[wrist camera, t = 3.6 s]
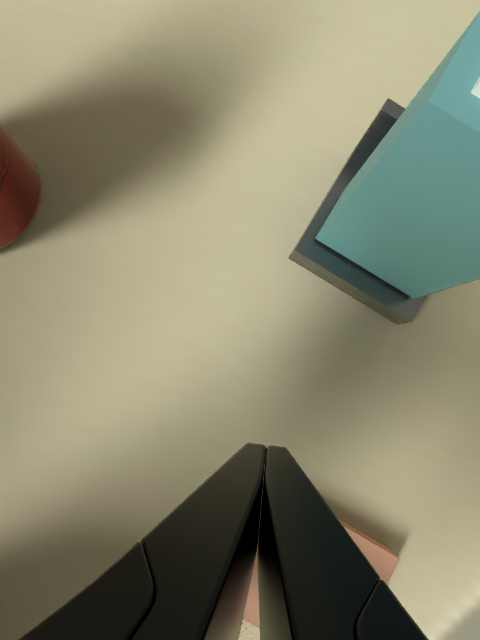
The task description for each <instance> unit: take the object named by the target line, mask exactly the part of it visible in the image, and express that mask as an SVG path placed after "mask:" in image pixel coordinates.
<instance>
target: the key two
mask: <svg viewBox="0 0 480 640" xmlns="http://www.w3.org/2000/svg"><path fill="white" fill-rule="evenodd" d="M315 239H317V240H318V241H320V242H322V243H323V244H325V245H327V246H328V247H330V248H332V249H333V250H335V251H337V252H338V253H340V254H341V255H343V256H345V257H346V258H348V259H350V260H351V261H353V262H355V263H356V264H358V265H360V266H361V267H363V268H365V269H366V270H368V271H369V272H371V273H373V274H374V275H376V276H378V277H379V278H381V279H383V280H384V281H386V282H388V283H389V284H391V285H392V286H394V287H396V288H397V289H399V290H401V291H402V292H404V293H406V294H407V295H409V296H411V297H412V298H414V299H415V298H418V297H421V296H424V295H428V294H431V293H434V292H437V291H441V290H444V289H447V288H451V287H454V286H457V285H460V284H464V283H467V282H470V281H473V280H477V279H480V12H479V13H478V14H477V16H476V17H475V18H474V20H473V21H472V22H471V23H470V25H469V26H468V27H467V29H466V30H465V31H464V33H463V34H462V35H461V37H460V38H459V39H458V41H457V42H456V43H455V45H454V46H453V47H452V49H451V50H450V51H449V53H448V54H447V55H446V56H445V58H444V59H443V60H442V62H441V63H440V64H439V66H438V67H437V68H436V70H435V71H434V72H433V74H432V75H431V76H430V78H429V79H428V80H427V82H426V83H425V84H424V85H423V87H422V88H421V89H420V91H419V92H418V93H417V95H416V96H415V97H414V99H413V100H412V101H411V103H410V104H409V105H408V107H407V108H406V109H405V111H404V112H403V113H402V114H401V116H400V117H399V118H398V120H397V121H396V122H395V124H394V125H393V126H392V128H391V129H390V130H389V132H388V133H387V134H386V136H385V137H384V138H383V140H382V141H381V142H380V143H379V145H378V146H377V147H376V149H375V150H374V151H373V153H372V154H371V155H370V157H369V158H368V159H367V161H366V162H365V163H364V165H363V166H362V167H361V169H360V170H359V171H358V172H357V174H356V175H355V176H354V178H353V179H352V180H351V182H350V183H349V184H348V186H347V187H346V188H345V190H344V191H343V192H342V194H341V196H340V197H339V199H338V201H337V202H336V204H335V206H334V207H333V209H332V211H331V212H330V214H329V216H328V217H327V219H326V221H325V222H324V224H323V226H322V228H321V229H320V231H319V233H318V234H317V236H316V238H315Z"/></svg>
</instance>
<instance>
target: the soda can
mask: <svg viewBox="0 0 480 640" xmlns="http://www.w3.org/2000/svg"><path fill="white" fill-rule="evenodd" d="M40 193H41V186H40V176H39V173H38V170H37V166H36V164H35V162H34V160H33V159H32V157H31V155H30V153H29V152H28V151H27V150H26V148H25V147H24V146H23V145H22V144H21V143H20V142H19V140H18V139H17V138H16V137H15V136H14V135H13V134H12V133H11V132H10V130H9V129H8V128H7V127H6V126H5V125H4V124H3V123H2V121H1V120H0V249H1V248H3V247H5V246H7V245H9V244H10V243H11V242H13V241H14V240H15V239H17V238H18V237H19V236H20V235H21V234H22V233H23V232H24V231H25V230H26V228H27V227H28V226H29V224H30V223H31V221H32V219H33V218H34V216H35V214H36V211H37V208H38V205H39V201H40Z"/></svg>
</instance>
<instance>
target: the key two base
mask: <svg viewBox="0 0 480 640" xmlns="http://www.w3.org/2000/svg"><path fill="white" fill-rule="evenodd" d="M404 111H405V108H403V107H402V106H400V105H398V104H397V103H395V102H393V101H392V100H390V99H389V98H388V99H387V101H386V102H385V104H384V105H383V107H382V108H381V110H380V111H379V113H378V114H377V116H376V117H375V119H374V120H373V122H372V123H371V125H370V126H369V128H368V129H367V131H366V132H365V134H364V135H363V137H362V138H361V140H360V141H359V143H358V144H357V146H356V148H355V149H354V151H353V152H352V154H351V155H350V157H349V159H348V160H347V162H346V164H345V165H344V167H343V169H342V170H341V172H340V174H339V175H338V177H337V178H336V180H335V182H334V183H333V185H332V187H331V188H330V190H329V192H328V193H327V195H326V197H325V198H324V200H323V202H322V203H321V205H320V207H319V208H318V210H317V212H316V213H315V215H314V217H313V218H312V220H311V222H310V223H309V225H308V227H307V228H306V230H305V232H304V233H303V235H302V236H301V238H300V240H299V241H298V243H297V245H296V246H295V248H294V250H293V251H292V253H291V255H290V256H289V259H291V260H293V261H294V262H296V263H298V264H299V265H301V266H302V267H304V268H306V269H307V270H309V271H311V272H312V273H314V274H316V275H317V276H319V277H321V278H322V279H324V280H325V281H327V282H329V283H330V284H332V285H334V286H335V287H337V288H339V289H340V290H342V291H344V292H345V293H347V294H348V295H350V296H352V297H353V298H355V299H357V300H358V301H360V302H362V303H363V304H365V305H367V306H368V307H370V308H371V309H373V310H375V311H376V312H378V313H380V314H381V315H383V316H385V317H386V318H388V319H390V320H391V321H393V322H394V323H396V324H403V323H408V322H412V321H413V319H414V317H415V315H416V313H417V312H418V310H419V308H420V306H421V304H422V302H423V300H424V298H425V297H426V295H424V296H421V297H418V298H415V299H414V298H412V297H411V296H409V295H407V294H406V293H404V292H402V291H401V290H399V289H397V288H396V287H394V286H392V285H391V284H389V283H388V282H386V281H384V280H383V279H381V278H379V277H378V276H376V275H374V274H373V273H371V272H369V271H368V270H366V269H365V268H363V267H361V266H360V265H358V264H356V263H355V262H353V261H351V260H350V259H348V258H346V257H345V256H343V255H341V254H340V253H338V252H337V251H335V250H333V249H332V248H330V247H328V246H327V245H325V244H323V243H322V242H320V241H318V240H317V239H315V238H316V236H317V234H318V233H319V231H320V229H321V228H322V226H323V224H324V222H325V221H326V219H327V217H328V216H329V214H330V212H331V211H332V209H333V207H334V206H335V204H336V202H337V201H338V199H339V197H340V196H341V194H342V192H343V191H344V190H345V188H346V187H347V186H348V184H349V183H350V182H351V180H352V179H353V178H354V176H355V175H356V174H357V172H358V171H359V170H360V169H361V167H362V166H363V165H364V163H365V162H366V161H367V159H368V158H369V157H370V155H371V154H372V153H373V151H374V150H375V149H376V147H377V146H378V145H379V143H380V142H381V141H382V140H383V138H384V137H385V136H386V134H387V133H388V132H389V130H390V129H391V128H392V126H393V125H394V124H395V122H396V121H397V120H398V118H399V117H400V116H401V114H402V113H403V112H404Z"/></svg>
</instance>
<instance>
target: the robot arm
mask: <svg viewBox="0 0 480 640" xmlns="http://www.w3.org/2000/svg"><path fill="white" fill-rule="evenodd" d="M265 455H266V458H265ZM264 466H265V470H264ZM263 477H264V481H263ZM262 489H263V493H262ZM261 500H262V504H261ZM260 512H261V516H260ZM259 523H260V527H259ZM258 534H259V539H258ZM257 545H258V554H257V556H258V592H259V619H260V640H428V638H427V637H426V636H425V634H424V633H423V632H422V631H421V629H420V628H419V627H418V625H417V624H416V623H415V621H414V620H413V619H412V618H411V616H410V615H409V614H408V612H407V611H406V610H405V608H404V607H403V606H402V605H401V603H400V602H399V600H398V599H397V598H396V596H395V595H394V594H393V592H392V591H391V590H390V588H389V587H388V585H387V584H386V583H385V581H384V580H380V576H379V574H378V573H377V572H376V570H375V569H374V568H373V566H372V565H371V563H370V562H369V561H368V559H367V558H366V557H365V555H364V554H363V553H362V551H361V550H360V548H359V547H358V546H357V544H356V543H355V542H354V540H353V539H352V537H351V536H350V535H349V533H348V532H347V531H346V529H345V528H344V526H343V525H342V524H341V522H340V521H339V520H338V518H337V517H336V516H335V514H334V513H333V511H332V510H331V509H330V507H329V506H328V505H327V503H326V502H325V500H324V499H323V498H322V496H321V495H320V494H319V492H318V491H317V489H316V488H315V487H314V485H313V484H312V483H311V481H310V480H309V479H308V477H307V476H306V474H305V473H304V472H303V470H302V469H301V468H300V466H299V465H298V463H297V462H296V461H295V459H294V458H293V457H292V455H291V454H290V452H289V451H288V450H287V449H286V448H285V447H278V446H268V447H267V448H266V447H265V446H264V445H262V444H254V443H247V444H245V445H244V446H243V447H242V448H241V449H240V450H239V451H238V452H237V453H236V454H235V455H233V456H232V457H231V458H230V459H229V460H228V461H227V462H226V463H225V464H224V465H222V466H221V467H220V468H219V469H218V470H217V471H216V472H215V473H214V474H213V475H212V476H210V477H209V478H208V479H207V480H206V481H205V482H204V483H203V484H202V485H201V486H200V487H198V488H197V489H196V490H195V491H194V492H193V493H192V494H191V495H190V496H189V497H187V498H186V499H185V500H184V501H183V502H182V503H181V504H180V505H179V506H178V507H177V508H175V509H174V510H173V511H172V512H171V513H170V514H169V515H168V516H167V517H166V518H165V519H163V520H162V521H161V522H160V523H159V524H158V525H157V526H156V527H155V528H154V529H152V530H151V531H150V532H149V533H148V534H147V535H146V536H145V537H144V538H143V539H142V540H141V542H137V543H136V544H135V545H134V546H133V547H132V548H131V549H130V550H128V551H127V552H126V553H125V554H124V555H123V556H122V557H121V558H120V559H118V560H117V561H116V562H115V563H114V564H113V565H111V566H110V567H109V568H108V569H107V570H106V571H105V572H103V573H102V574H101V575H100V576H99V577H98V578H96V579H95V580H94V581H93V582H92V583H91V584H89V585H88V586H87V587H86V588H84V589H83V590H82V591H81V592H79V593H78V594H77V595H75V596H74V597H73V598H72V599H70V600H69V601H68V602H67V603H65V604H64V605H63V606H61V607H60V608H59V609H58V610H56V611H55V612H54V613H53V614H51V615H50V616H49V617H47V618H46V619H45V620H43V621H42V622H41V623H39V624H38V625H37V626H35V627H34V628H33V629H32V630H30V631H29V632H28V633H26V634H25V635H24V636H22V637H21V638H20V639H18V640H238V639H239V634H240V629H241V625H242V620H243V616H244V611H245V606H246V602H247V597H248V593H249V588H250V583H251V579H252V574H253V570H254V565H255V559H256V553H257Z"/></svg>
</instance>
